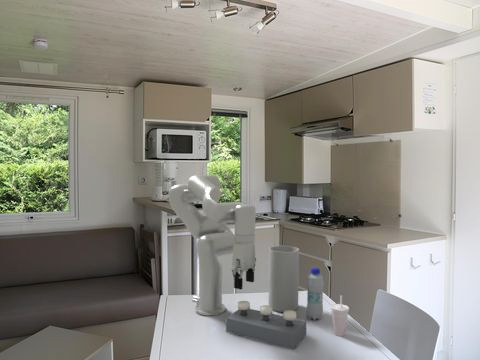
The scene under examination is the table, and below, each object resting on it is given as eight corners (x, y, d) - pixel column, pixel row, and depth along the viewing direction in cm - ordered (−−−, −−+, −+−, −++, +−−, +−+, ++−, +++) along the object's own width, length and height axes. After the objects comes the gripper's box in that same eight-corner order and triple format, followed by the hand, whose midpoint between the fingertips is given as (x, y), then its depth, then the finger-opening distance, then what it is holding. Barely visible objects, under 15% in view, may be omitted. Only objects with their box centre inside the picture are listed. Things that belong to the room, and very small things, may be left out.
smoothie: (338, 339, 128) (339, 299, 128) (326, 331, 134) (327, 293, 134) (352, 335, 131) (353, 296, 131) (340, 328, 137) (340, 291, 137)
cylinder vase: (264, 310, 154) (265, 250, 153) (273, 300, 165) (274, 244, 164) (293, 315, 149) (294, 253, 148) (301, 304, 161) (302, 247, 160)
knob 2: (281, 331, 127) (281, 313, 127) (286, 326, 131) (286, 309, 131) (293, 334, 125) (293, 316, 125) (297, 329, 129) (298, 311, 129)
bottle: (323, 322, 143) (324, 270, 142) (305, 320, 144) (306, 269, 143) (323, 315, 149) (324, 266, 148) (306, 313, 150) (307, 265, 150)
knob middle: (257, 326, 132) (257, 308, 131) (263, 321, 135) (263, 304, 135) (268, 328, 129) (269, 311, 129) (274, 324, 133) (274, 306, 133)
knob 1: (235, 320, 136) (235, 303, 136) (241, 316, 140) (241, 300, 140) (246, 323, 134) (246, 306, 134) (251, 318, 138) (251, 302, 137)
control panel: (226, 331, 134) (226, 318, 133) (242, 319, 144) (242, 307, 144) (294, 349, 121) (294, 334, 121) (306, 335, 132) (306, 321, 131)
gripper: (246, 233, 145) (246, 277, 146) (223, 241, 130) (223, 290, 131) (264, 235, 141) (263, 280, 142) (242, 243, 126) (241, 294, 127)
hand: (244, 284), depth 136 cm, fingers open, 8 cm apart
